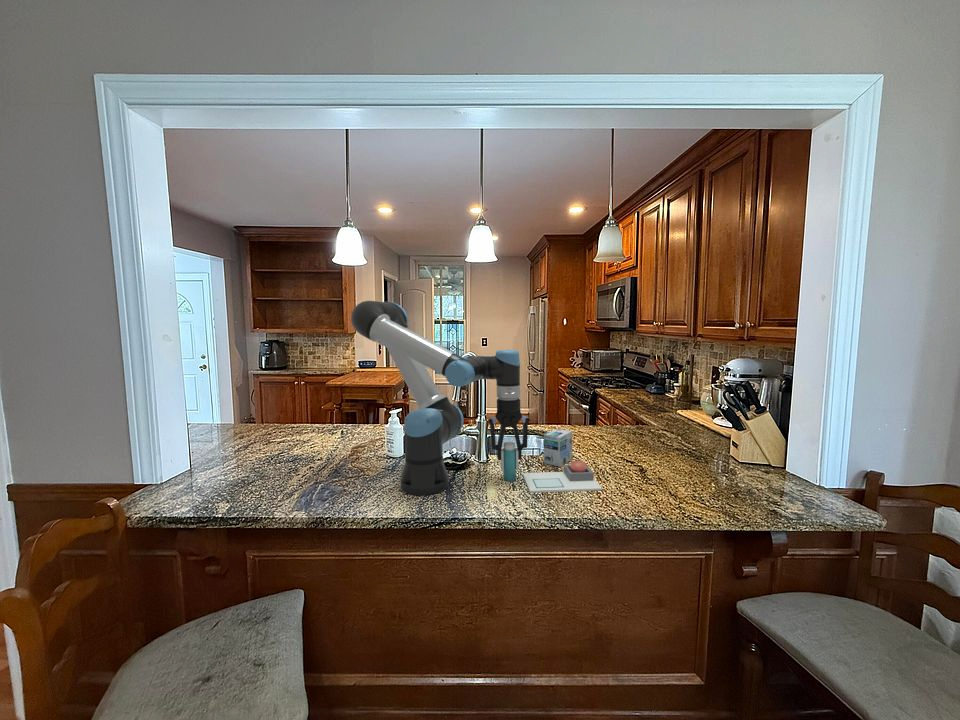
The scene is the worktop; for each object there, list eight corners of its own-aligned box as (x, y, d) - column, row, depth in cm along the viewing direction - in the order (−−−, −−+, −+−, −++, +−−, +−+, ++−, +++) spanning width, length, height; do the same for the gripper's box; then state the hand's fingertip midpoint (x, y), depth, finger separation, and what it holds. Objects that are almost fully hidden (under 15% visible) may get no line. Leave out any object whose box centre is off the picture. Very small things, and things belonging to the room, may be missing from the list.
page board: (530, 492, 118) (530, 483, 118) (522, 474, 132) (522, 466, 132) (602, 490, 120) (602, 480, 119) (587, 472, 133) (587, 464, 133)
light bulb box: (560, 467, 139) (560, 437, 138) (543, 463, 143) (543, 434, 142) (572, 458, 147) (573, 430, 146) (556, 455, 151) (556, 427, 150)
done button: (572, 475, 126) (572, 466, 126) (568, 469, 131) (568, 461, 131) (588, 475, 127) (588, 465, 126) (583, 469, 132) (583, 460, 131)
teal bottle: (504, 481, 127) (503, 445, 126) (502, 477, 131) (502, 441, 130) (516, 481, 127) (516, 445, 126) (514, 476, 131) (514, 441, 130)
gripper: (482, 401, 123) (483, 474, 125) (537, 399, 123) (537, 472, 125) (481, 396, 130) (482, 466, 132) (532, 395, 131) (533, 464, 133)
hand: (509, 469), depth 129 cm, fingers closed on teal bottle, 4 cm apart
